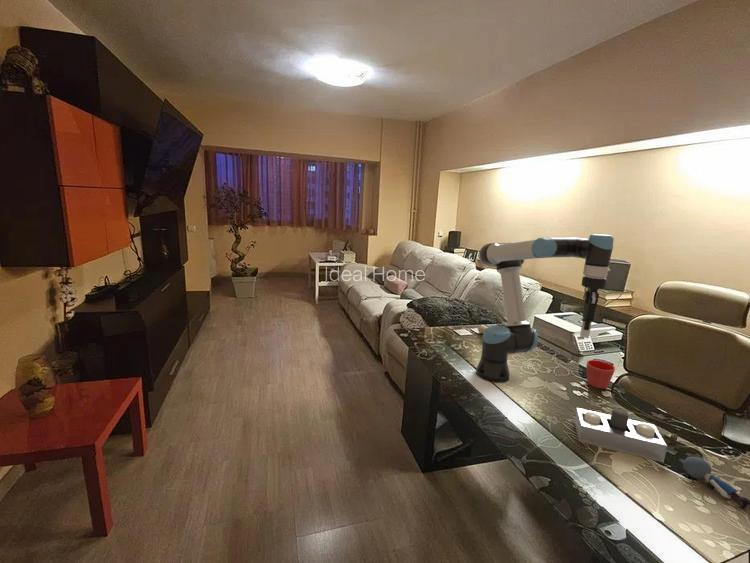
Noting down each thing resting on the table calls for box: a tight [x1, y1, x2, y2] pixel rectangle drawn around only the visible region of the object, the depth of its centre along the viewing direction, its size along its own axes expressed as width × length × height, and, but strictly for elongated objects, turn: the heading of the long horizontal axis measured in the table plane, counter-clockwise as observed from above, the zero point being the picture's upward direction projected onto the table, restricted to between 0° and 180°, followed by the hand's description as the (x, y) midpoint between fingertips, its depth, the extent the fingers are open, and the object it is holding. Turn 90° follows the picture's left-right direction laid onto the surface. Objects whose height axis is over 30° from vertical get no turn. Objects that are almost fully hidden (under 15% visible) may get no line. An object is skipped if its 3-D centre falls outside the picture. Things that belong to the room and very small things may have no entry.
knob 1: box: [584, 412, 601, 425], centre depth 117 cm, size 5×5×6 cm
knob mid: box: [609, 408, 630, 431], centre depth 114 cm, size 5×5×6 cm
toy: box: [678, 456, 750, 510], centre depth 95 cm, size 7×6×15 cm
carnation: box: [477, 325, 487, 334], centre depth 203 cm, size 12×12×35 cm
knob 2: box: [636, 423, 655, 438], centre depth 111 cm, size 5×5×6 cm
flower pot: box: [586, 359, 616, 389], centre depth 154 cm, size 11×11×10 cm
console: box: [574, 407, 668, 464], centre depth 114 cm, size 23×12×6 cm, turn 66°
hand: (584, 336), depth 128 cm, fingers closed
